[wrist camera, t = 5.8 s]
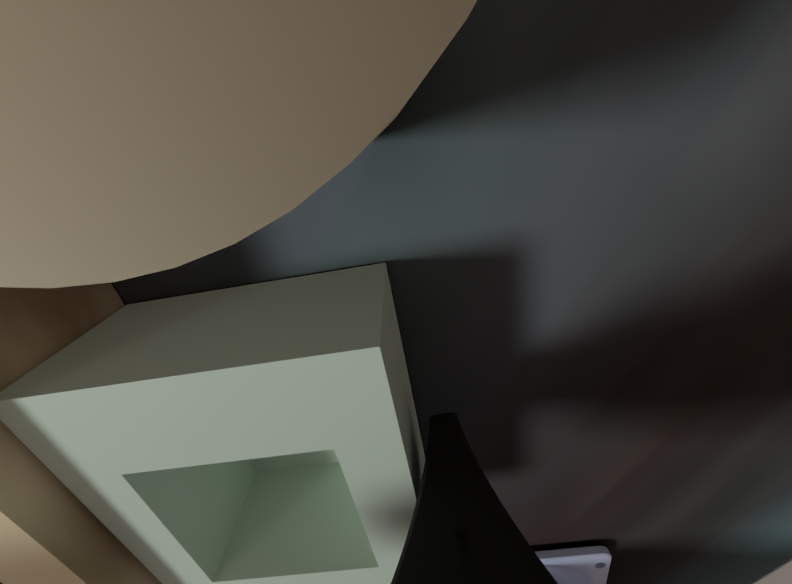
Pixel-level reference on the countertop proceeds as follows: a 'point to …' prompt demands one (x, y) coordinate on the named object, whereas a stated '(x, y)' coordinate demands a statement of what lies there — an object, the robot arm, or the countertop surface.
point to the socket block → (239, 430)
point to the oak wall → (28, 477)
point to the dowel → (187, 120)
